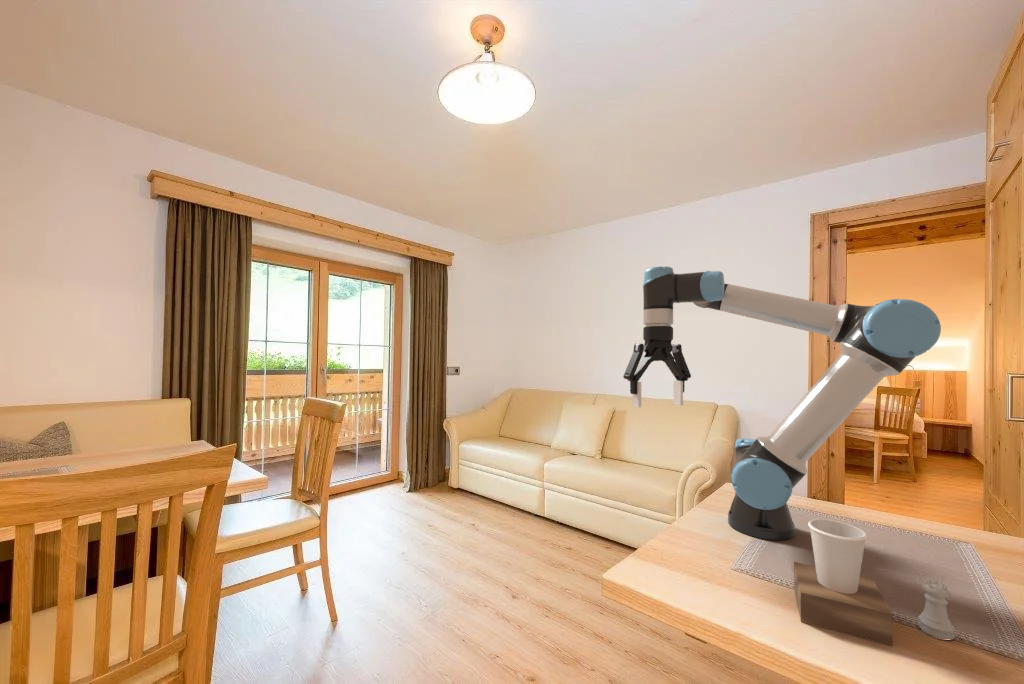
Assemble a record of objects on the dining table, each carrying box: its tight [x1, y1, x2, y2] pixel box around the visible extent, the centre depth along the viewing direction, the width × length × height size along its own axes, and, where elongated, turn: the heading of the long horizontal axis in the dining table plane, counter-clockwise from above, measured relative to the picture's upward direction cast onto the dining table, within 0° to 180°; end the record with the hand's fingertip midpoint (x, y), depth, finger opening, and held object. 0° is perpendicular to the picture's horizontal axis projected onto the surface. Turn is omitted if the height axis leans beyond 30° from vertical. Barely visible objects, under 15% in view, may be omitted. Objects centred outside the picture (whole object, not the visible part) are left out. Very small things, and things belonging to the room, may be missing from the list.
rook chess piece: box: [917, 579, 956, 640], centre depth 70 cm, size 4×4×8 cm
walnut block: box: [793, 561, 894, 647], centre depth 75 cm, size 12×12×5 cm
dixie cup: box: [807, 518, 868, 594], centre depth 75 cm, size 8×8×10 cm
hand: (657, 405), depth 112 cm, fingers open, 13 cm apart
